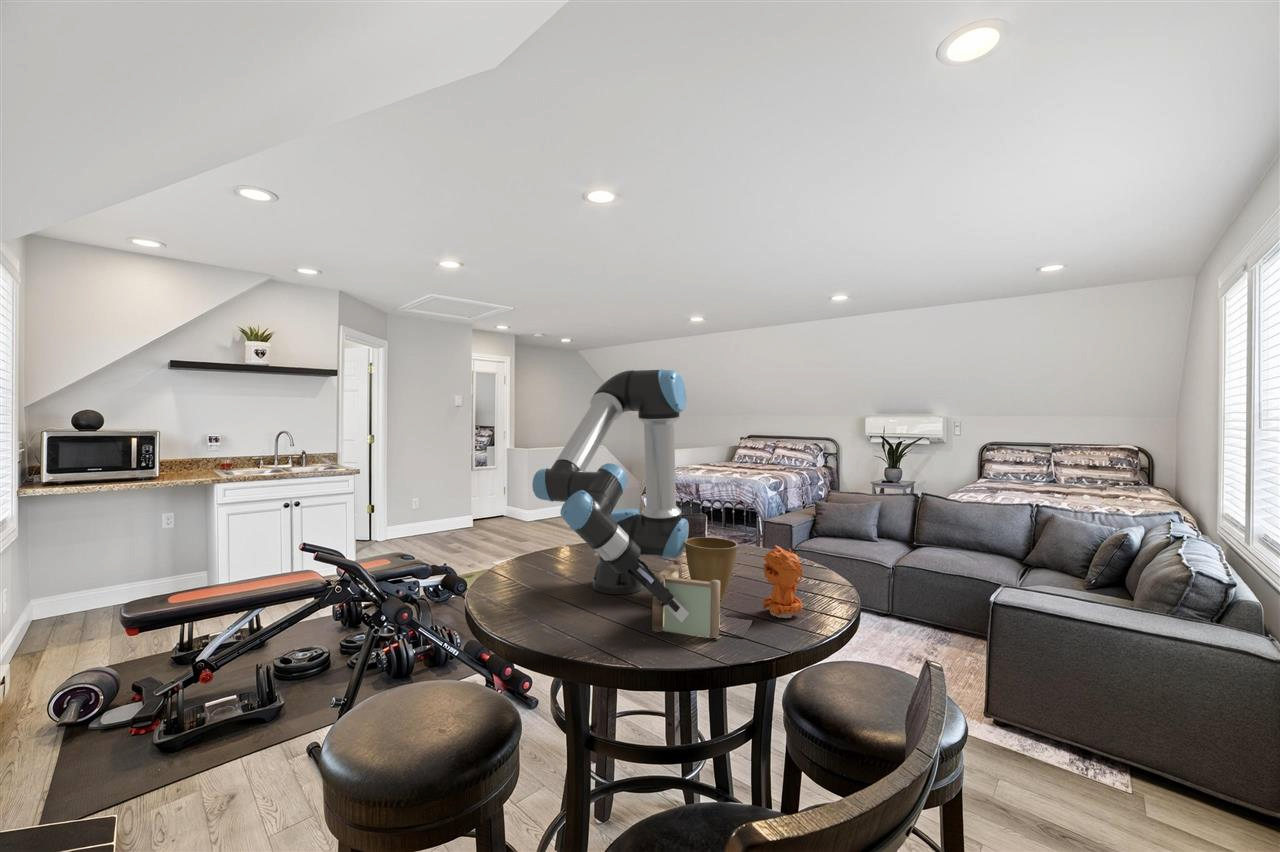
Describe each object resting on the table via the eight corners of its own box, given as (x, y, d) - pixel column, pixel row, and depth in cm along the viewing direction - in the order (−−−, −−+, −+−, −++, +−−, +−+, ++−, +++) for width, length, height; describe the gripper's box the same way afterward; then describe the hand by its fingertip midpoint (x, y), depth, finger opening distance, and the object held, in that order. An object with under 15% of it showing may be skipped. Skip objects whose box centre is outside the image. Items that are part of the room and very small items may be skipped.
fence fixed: (673, 610, 144) (674, 559, 144) (683, 611, 143) (684, 560, 143) (650, 631, 129) (651, 575, 129) (660, 633, 128) (661, 576, 128)
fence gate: (663, 631, 128) (664, 576, 128) (666, 627, 130) (667, 574, 130) (718, 639, 124) (719, 583, 123) (720, 636, 126) (721, 580, 126)
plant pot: (721, 611, 144) (722, 551, 143) (673, 599, 152) (674, 542, 152) (745, 596, 156) (746, 541, 155) (700, 586, 164) (701, 534, 164)
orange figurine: (771, 604, 150) (772, 539, 149) (809, 613, 143) (811, 545, 143) (752, 615, 141) (753, 546, 141) (792, 625, 134) (793, 553, 134)
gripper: (597, 554, 124) (661, 619, 131) (615, 569, 112) (685, 640, 118) (619, 530, 126) (682, 595, 132) (639, 542, 114) (708, 613, 120)
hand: (683, 616), depth 125 cm, fingers closed
